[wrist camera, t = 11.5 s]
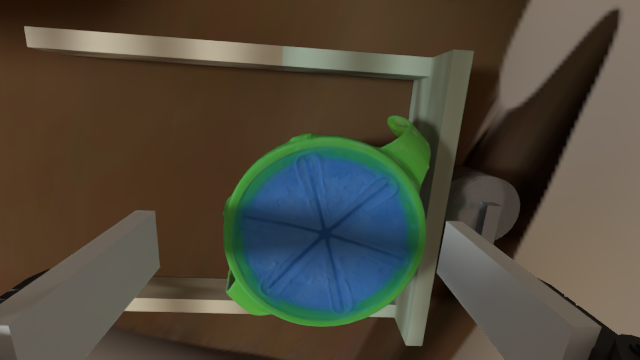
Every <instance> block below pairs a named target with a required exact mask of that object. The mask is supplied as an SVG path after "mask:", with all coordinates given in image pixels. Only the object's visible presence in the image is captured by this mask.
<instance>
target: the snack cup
mask: <svg viewBox="0 0 640 360" xmlns="http://www.w3.org/2000/svg"><path fill="white" fill-rule="evenodd" d="M387 124H388V126H389V127H390V129H391V130H392V132H393V133H394V134H395V135H396V136H397V138H398V139H396V140H394V141H393V142H391V143H389V144H387V145H385V146H383V147H374V146H371V145H369V144H366V143H364V142H362V141H359V140H355V139H351V138H347V137H343V136H336V135H316V134H314V133H308V134H302V135H299V136H296V137H293V138H291V139H290V141H288V142H287V143H285V144H282V145H280V146H278V147H277V148H275V149H273V150H271V151H269V152H268V153H267V154H265V155H264V156H262V157H261V158H260V159H259V160H257V161H256V162H255V163H254V164H253V165H252V166H251V168H250V169H249V170H248V171H247V172H246V173H245V174H244V176H243V177H242V179H241V180H240V182H239V183H238V185H237V187H236V188H235V190H234V192H233V194H232V196H230V197H229V198H228V199H227V201H226V204H225V208H224V211H223V218H224V227H223V242H224V250H225V254H226V258H227V261H228V264H229V267H230V269H229V274H228V280H227V286H226V293H227V294H228V296H230V297H231V298H232V299H233V300H234V301H235V302H236V303H237V304H238V305H239V306H241V307H242V308H243V309H245V310H246V311H248V312H249V313H251V314H253V315H259V316H262V315H268V314H273V315H275V316H277V317H280V318H282V319H284V320H287V321H290V322H293V323H297V324H302V325H307V326H321V327H323V326H337V325H343V324H348V323H352V322H354V321H358V320H361V319H364V318H366V317H368V316H370V315H372V314H374V313H376V312H378V311H380V310H381V309H383V308H384V307H385V306H387V305H388V304H389V303H391V302H392V301H393V300H394V299H395V298H396V297H397V296H398V295H399V294H400V293H401V292H402V291H403V290H404V289H405V287H406V286H407V285H408V283H409V282H410V281H411V279H412V277H413V276H414V274H415V272H416V270H417V268H418V266H419V264H420V262H421V259H422V255H423V252H424V247H425V242H426V219H425V212H424V208H423V204H422V201H421V198H420V194H419V191H420V188H421V184H422V182H423V180H424V178H425V175H426V173H427V170H428V169H429V161H430V156H431V151H430V147H429V143H428V142H427V140H426V139H425V138H424V137H423V136H422V135H421V133H420V132H419V131H418V130H417V128H416V127H415V126H414V125H413V124H412V123H411V122H410V121H409V120H407V119H406V118H403V117H400V116H396V115H394V116H391V117H389V118H388V123H387Z"/></svg>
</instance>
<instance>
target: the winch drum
mask: <svg viewBox="0 0 640 360" xmlns="http://www.w3.org/2000/svg"><path fill="white" fill-rule="evenodd" d="M519 211H520V200H519V196H518V194H517V192H516V190H515V188H514V187H513V186H512V185H511V184H510V183H508V182H506V181H505V180H502V179H500V178H497V177H494V176H492V175H489V174H486V173H484V172H481V171H478V170H476V169H473V168H470V167H467V166H463V165H456V166H454V168H453V173H452V179H451V185H450V190H449V196H448V201H447V207H446V213H445V218H444V222H445V223H446V221H462V222H463V223H465V224H466V225H467V226H469V227H470V228H471V229H473V230H474V231H475V232H477V233H478V234H479V235H481V236H482V237H483V238H485V239H486V240H487V241H489V242H490V243H491V244H493V243H494V240H497V239H498V238H500V237H502V236H503V235H505V234H506V233H507V232H508V231H509V230H510V229H511V228H512V227H513V225H514V224H515V222H516V220H517V218H518V215H519Z"/></svg>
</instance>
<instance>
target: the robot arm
mask: <svg viewBox="0 0 640 360" xmlns="http://www.w3.org/2000/svg"><path fill="white" fill-rule="evenodd" d="M159 268H160V264H159V253H158V242H157V231H156V219H155V211H140V210H136V211H134V212H133V213H132V214H130V215H129V216H127V217H126V218H124V219H123V220H121V221H120V222H119V223H117V224H116V225H114V226H113V227H111V228H110V229H108V230H107V231H105V232H104V233H103V234H101V235H100V236H98V237H97V238H95V239H94V240H92V241H91V242H90V243H88V244H87V245H85V246H84V247H82V248H81V249H79V250H78V251H76V252H75V253H74V254H72V255H71V256H69V257H68V258H66V259H65V260H63V261H62V262H61V263H59V264H58V265H56V266H55V267H53V268H52V269H47V270H45V271H43V272H41V273H38V274H36V275H34V276H32V277H29V278H27V279H26V280H24V281H23V282H21V283H20V284H18V285H17V286H15V287H14V288H12V289H11V291H10V292H6V293H5V294H3V295H2V296H0V360H84V359H85V358H86V356H87V355H88V354H89V353H90V352H91V351H92V349H93V348H94V347H95V346H96V344H97V343H98V342H99V341H100V340H101V338H102V337H103V336H104V334H105V333H106V332H107V331H108V330H109V329H110V327H111V326H112V325H113V324H114V323H115V321H116V320H117V319H118V318H119V316H120V315H121V314H122V313H123V312H124V310H125V309H126V308H127V307H128V306H129V304H130V303H131V302H132V301H133V299H134V298H135V297H136V296H137V295H138V293H139V292H140V291H141V290H142V288H143V287H144V286H145V285H146V284H147V282H148V281H149V280H150V279H151V278H152V276H153V275H154V274H155V273H156V271H157V270H158V269H159ZM437 274H438V275H439V276H440V278H441V279H442V280H443V281H444V283H445V284H446V285H447V287H448V288H449V289H450V290H451V292H452V293H453V294H454V295H455V297H456V298H457V299H458V300H459V302H460V303H461V304H462V306H463V307H464V308H465V309H466V311H467V312H468V313H469V314H470V316H471V317H472V318H473V320H474V321H475V322H476V323H477V325H478V326H479V327H480V328H481V330H482V331H483V332H484V333H485V335H486V336H487V337H488V339H489V340H490V341H491V342H492V344H493V345H494V346H495V347H496V349H497V350H498V351H499V353H500V354H501V355H502V356H503V358H504V359H505V360H640V338H639V337H636V336H632V335H624V334H621V335H617V334H616V333H615V332H613V331H612V330H611V329H609V328H608V327H607V326H605V325H604V324H603V323H601V322H600V321H599V320H597V319H596V318H595V317H593V316H592V315H590V314H589V313H588V312H587V311H585V310H584V309H582V308H581V307H580V306H576V304H575V303H574V302H573V301H572V300H570V299H569V298H568V297H564V294H562V293H561V292H559V291H558V290H557V289H555V288H554V287H553V286H551V285H550V284H548V283H546V282H544V281H542V280H540V279H538V278H536V277H535V276H534V275H532V274H531V273H530V272H528V271H527V270H526V269H524V268H523V267H522V266H520V265H519V264H517V263H516V262H515V261H514V260H512V259H511V258H510V257H508V256H507V255H506V254H504V253H503V252H502V251H500V250H499V249H498V248H497V247H495V246H494V245H493V244H491V243H490V242H489V241H487V240H486V239H485V238H483V237H482V236H481V235H479V234H478V233H477V232H475V231H474V230H473V229H471V228H470V227H469V226H467V225H466V224H465V223H463V222H462V221H446V226H445V231H444V236H443V242H442V247H441V252H440V257H439V262H438V268H437Z"/></svg>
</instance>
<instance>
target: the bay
mask: <svg viewBox="0 0 640 360" xmlns="http://www.w3.org/2000/svg"><path fill="white" fill-rule="evenodd" d="M24 30H25V36H26V42H27V47H30V48H35V49H39V50H44V51H49V52H53V53H58V54H63V55H72V56H86V57H100V58H114V59H127V60H141V61H155V62H169V63H183V64H196V65H210V66H224V67H238V68H251V69H265V70H279V71H293V72H307V73H320V74H334V75H348V76H362V77H375V78H389V79H403V80H414V83H413V91H412V98H411V106H410V113H409V121H410V122H411V123H412V124H413V125H414V126H415V127H416V128H417V130H418V131H419V132H420V133H421V135H422V136H423V137H424V138H425V139H426V140H427V142H428V143H429V147H430V151H431V156H430V161H429V169H428V170H427V173H426V175H425V178H424V180H423V182H422V184H421V188H420V191H419V194H420V198H421V201H422V204H423V208H424V212H425V219H426V242H425V247H424V252H423V255H422V259H421V262H420V264H419V266H418V268H417V270H416V272H415V274H414V276H413V277H412V279H411V281H410V282H409V283H408V285H407V286H406V287H405V289H404V290H403V291H402V292H401V293H400V294H399V295H398V296H397V297H396V298H395V299H394V300H393V301H392V302H391V303H389V304H388V305H387V306H385V307H384V308H383V309H381V310H380V311H378V312H376V313H374V314H372V315H370V316H368V317H394V318H395V320H396V322H397V325H398V327H399V330H400V332H401V334H402V337H403V339H404V342H405V344H406V346H422V342H423V337H424V331H425V326H426V320H427V314H428V309H429V303H430V297H431V292H432V286H433V280H434V275H435V269H436V263H437V258H438V252H439V247H440V241H441V235H442V230H443V224H444V218H445V213H446V207H447V201H448V196H449V190H450V185H451V179H452V173H453V168H454V162H455V156H456V151H457V145H458V139H459V134H460V128H461V122H462V117H463V111H464V106H465V100H466V94H467V89H468V83H469V77H470V72H471V66H472V60H473V55H474V51H468V50H455V49H454V50H451V51H449V52H446V53H443V54H441V55H438V56H435V57H433V58H429V57H416V56H403V55H390V54H377V53H364V52H352V51H339V50H326V49H313V48H300V47H287V46H274V45H261V44H248V43H235V42H222V41H209V40H197V39H184V38H171V37H158V36H145V35H132V34H119V33H106V32H93V31H80V30H67V29H55V28H42V27H29V26H24ZM227 280H228V279H217V278H185V277H152V278H151V279H150V280H149V281H148V282H147V284H146V285H145V286H144V287H143V288H142V290H141V291H140V292H139V293H138V295H137V296H136V297H135V298H134V299H133V301H132V302H131V303H130V304H129V306H128V307H127V308H126V309H125V310H124V311H154V312H195V313H237V314H251V313H249V312H248V311H246V310H245V309H243V308H242V307H241V306H239V305H238V304H237V303H236V302H235V301H234V300H233V299H232V298H231V297H230V296H228V294H227V293H226V286H227Z"/></svg>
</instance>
